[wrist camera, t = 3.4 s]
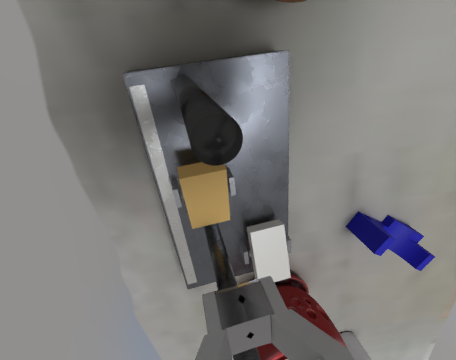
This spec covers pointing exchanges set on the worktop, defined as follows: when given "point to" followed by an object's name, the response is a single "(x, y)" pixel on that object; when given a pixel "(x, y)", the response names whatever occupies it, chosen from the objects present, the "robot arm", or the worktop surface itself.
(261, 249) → the rocker ivory
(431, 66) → the worktop surface
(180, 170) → the tan block
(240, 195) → the panel
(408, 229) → the cable clip
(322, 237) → the worktop surface
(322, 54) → the worktop surface
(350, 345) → the milk bottle
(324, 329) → the plant pot
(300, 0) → the onion
